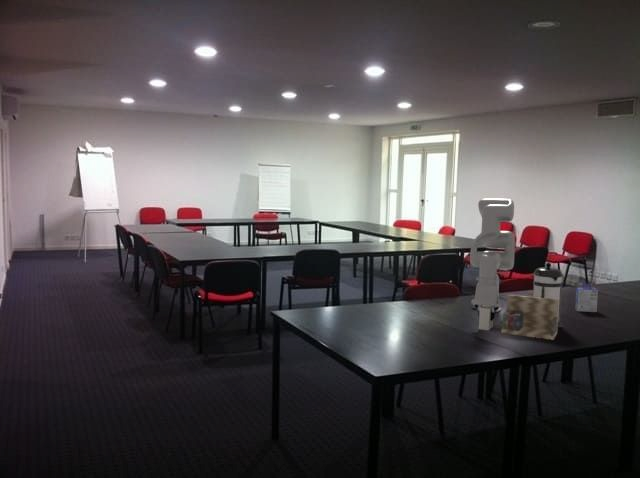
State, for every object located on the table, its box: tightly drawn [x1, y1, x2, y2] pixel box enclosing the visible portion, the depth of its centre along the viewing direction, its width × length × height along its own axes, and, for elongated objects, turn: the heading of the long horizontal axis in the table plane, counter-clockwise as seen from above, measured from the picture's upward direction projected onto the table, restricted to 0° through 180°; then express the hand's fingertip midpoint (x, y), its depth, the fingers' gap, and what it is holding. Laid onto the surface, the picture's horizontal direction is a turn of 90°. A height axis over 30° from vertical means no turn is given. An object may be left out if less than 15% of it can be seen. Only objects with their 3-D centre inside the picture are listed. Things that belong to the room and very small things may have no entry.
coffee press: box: [532, 262, 564, 328], centre depth 260 cm, size 17×16×30 cm
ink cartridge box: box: [574, 283, 599, 313], centre depth 288 cm, size 10×6×14 cm, turn 78°
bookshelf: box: [500, 294, 559, 341], centre depth 244 cm, size 22×12×16 cm, turn 59°
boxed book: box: [478, 305, 494, 331], centre depth 253 cm, size 4×8×10 cm, turn 149°
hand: (486, 318), depth 253 cm, fingers closed on boxed book, 4 cm apart
